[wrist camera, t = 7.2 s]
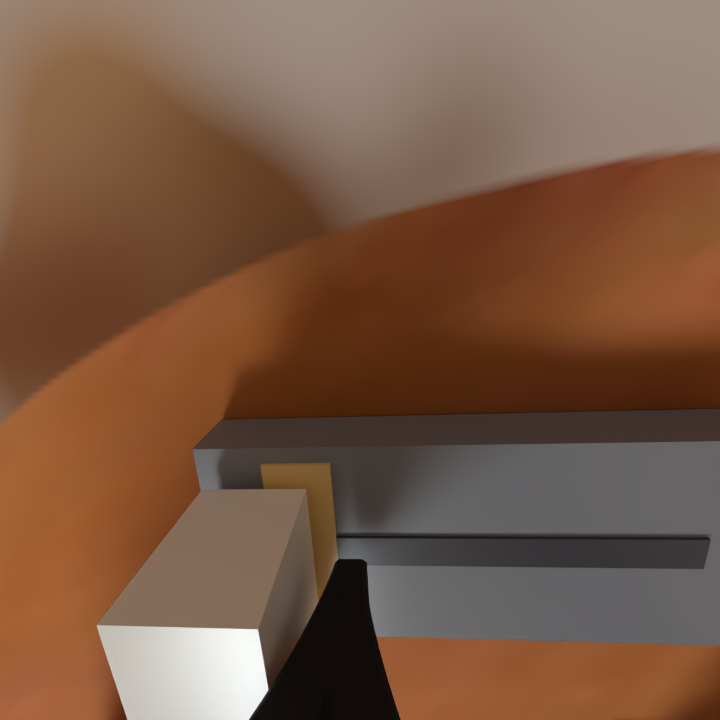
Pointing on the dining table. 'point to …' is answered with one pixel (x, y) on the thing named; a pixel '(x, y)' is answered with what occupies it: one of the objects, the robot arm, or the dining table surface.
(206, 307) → the dining table surface
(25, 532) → the dining table surface
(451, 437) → the fader deck
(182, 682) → the fader knob
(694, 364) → the dining table surface
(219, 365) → the dining table surface
